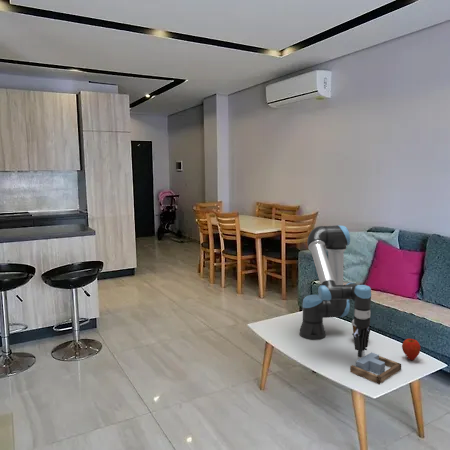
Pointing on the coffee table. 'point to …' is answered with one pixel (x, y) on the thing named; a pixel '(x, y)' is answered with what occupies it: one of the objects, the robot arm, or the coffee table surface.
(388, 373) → the walnut fence
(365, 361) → the t block
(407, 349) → the apple
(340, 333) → the coffee table surface
